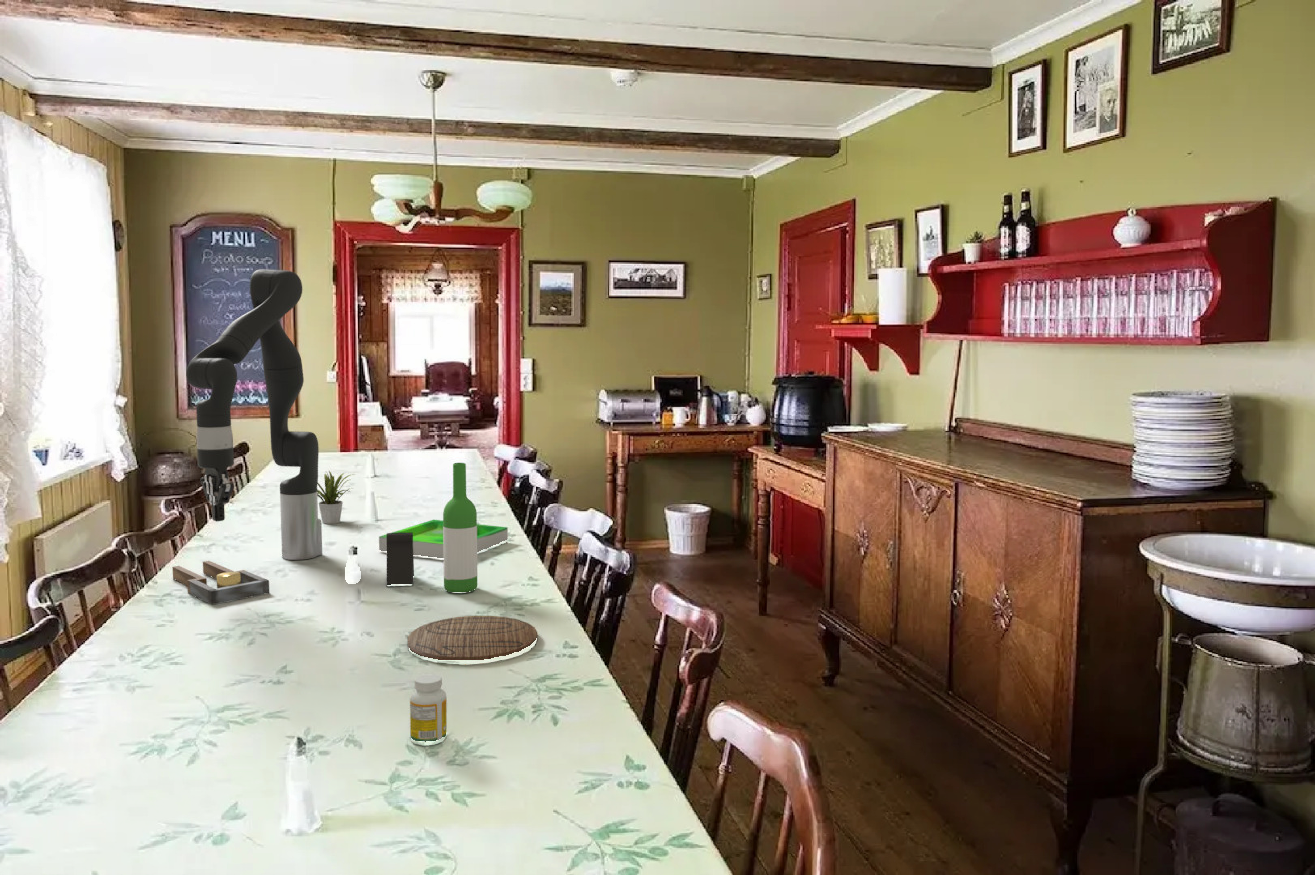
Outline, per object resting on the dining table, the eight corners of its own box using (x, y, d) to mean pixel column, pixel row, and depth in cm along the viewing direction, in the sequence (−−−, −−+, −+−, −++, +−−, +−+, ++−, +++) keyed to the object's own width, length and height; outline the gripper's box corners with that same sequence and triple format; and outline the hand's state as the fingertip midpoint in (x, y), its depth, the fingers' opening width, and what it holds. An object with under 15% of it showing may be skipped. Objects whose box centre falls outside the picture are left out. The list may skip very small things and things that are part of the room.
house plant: (368, 521, 298) (367, 469, 296) (332, 529, 287) (330, 475, 285) (338, 515, 306) (336, 465, 304) (301, 523, 294) (299, 470, 292)
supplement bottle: (424, 750, 141) (423, 688, 139) (403, 740, 144) (402, 678, 143) (454, 739, 145) (453, 677, 144) (432, 729, 148) (431, 669, 147)
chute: (218, 570, 238) (218, 559, 238) (269, 593, 219) (268, 580, 219) (163, 580, 229) (162, 568, 228) (211, 604, 210) (211, 591, 210)
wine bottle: (469, 596, 219) (468, 466, 216) (438, 593, 221) (436, 465, 217) (482, 587, 227) (481, 461, 223) (452, 584, 229) (450, 460, 225)
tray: (379, 554, 259) (379, 536, 258) (433, 536, 282) (433, 519, 281) (458, 564, 250) (457, 545, 249) (507, 544, 273) (507, 527, 272)
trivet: (540, 663, 178) (540, 654, 178) (401, 670, 174) (401, 660, 174) (535, 622, 202) (535, 613, 202) (413, 626, 198) (413, 617, 198)
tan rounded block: (236, 589, 222) (235, 570, 222) (244, 594, 219) (243, 575, 218) (213, 593, 219) (213, 574, 218) (222, 598, 215) (221, 579, 215)
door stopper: (412, 586, 227) (411, 537, 225) (386, 587, 225) (385, 537, 224) (414, 576, 235) (413, 528, 234) (389, 577, 234) (388, 529, 233)
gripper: (244, 447, 216) (247, 522, 218) (219, 441, 225) (222, 513, 227) (210, 450, 210) (214, 527, 213) (186, 444, 219) (190, 518, 222)
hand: (218, 520), depth 220 cm, fingers closed
